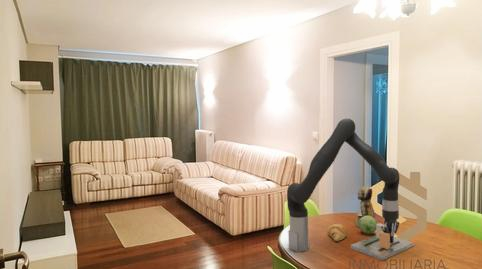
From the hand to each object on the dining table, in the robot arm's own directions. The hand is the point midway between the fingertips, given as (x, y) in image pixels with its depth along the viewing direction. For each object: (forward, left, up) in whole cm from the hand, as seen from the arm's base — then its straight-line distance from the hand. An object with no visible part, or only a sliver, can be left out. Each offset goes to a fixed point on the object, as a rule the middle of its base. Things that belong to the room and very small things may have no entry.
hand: (390, 242), depth 168 cm
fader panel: (-1, +4, -3) cm, 5 cm away
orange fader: (-5, 0, -1) cm, 5 cm away
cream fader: (+4, +8, -1) cm, 9 cm away
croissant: (-5, +29, -4) cm, 30 cm away
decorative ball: (+11, +20, -3) cm, 23 cm away
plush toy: (+20, +28, -3) cm, 34 cm away
